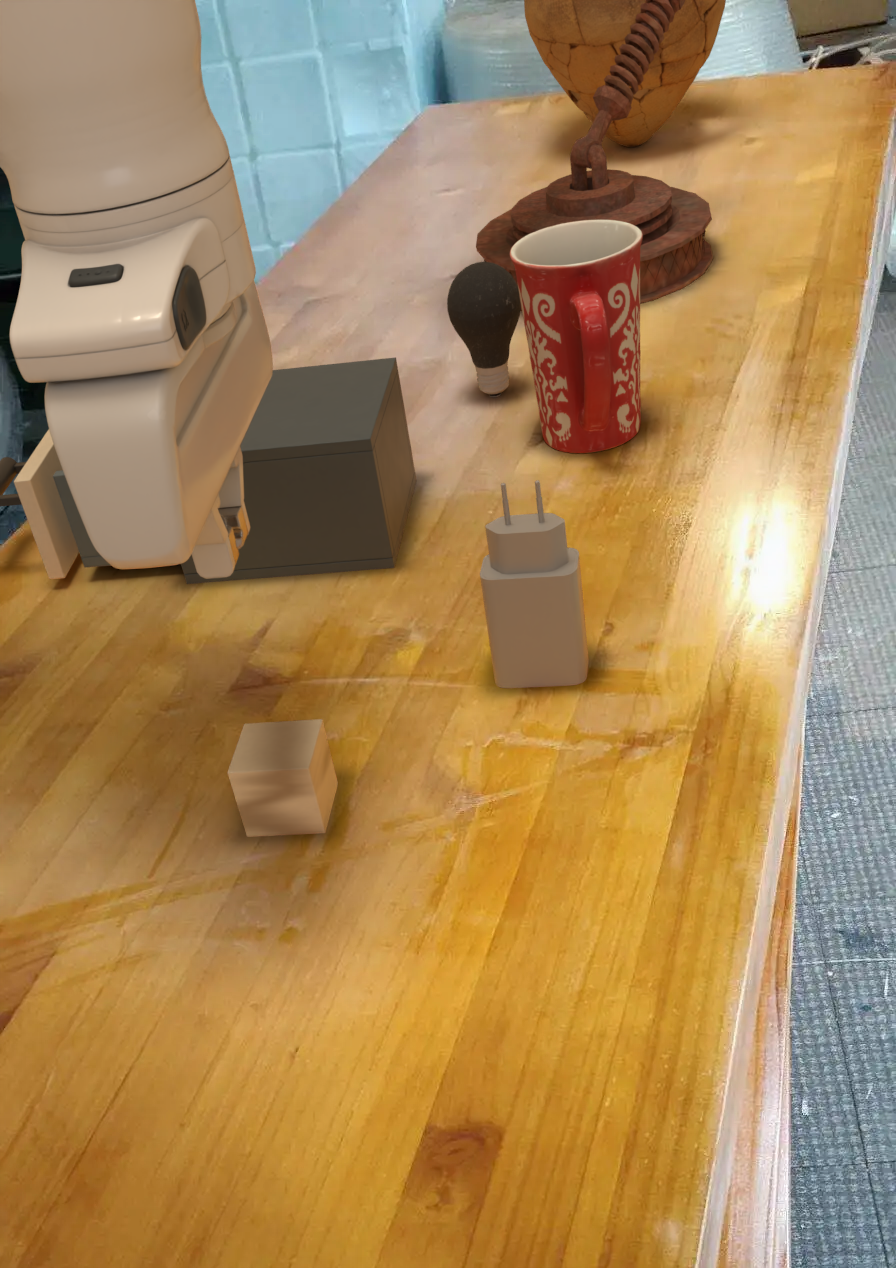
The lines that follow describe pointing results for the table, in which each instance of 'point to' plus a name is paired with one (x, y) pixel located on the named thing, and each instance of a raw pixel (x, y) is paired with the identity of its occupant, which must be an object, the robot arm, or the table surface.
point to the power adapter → (533, 600)
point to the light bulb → (486, 320)
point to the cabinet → (325, 473)
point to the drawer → (49, 509)
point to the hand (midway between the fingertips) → (226, 556)
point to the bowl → (590, 39)
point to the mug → (583, 330)
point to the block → (283, 778)
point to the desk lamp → (617, 183)
